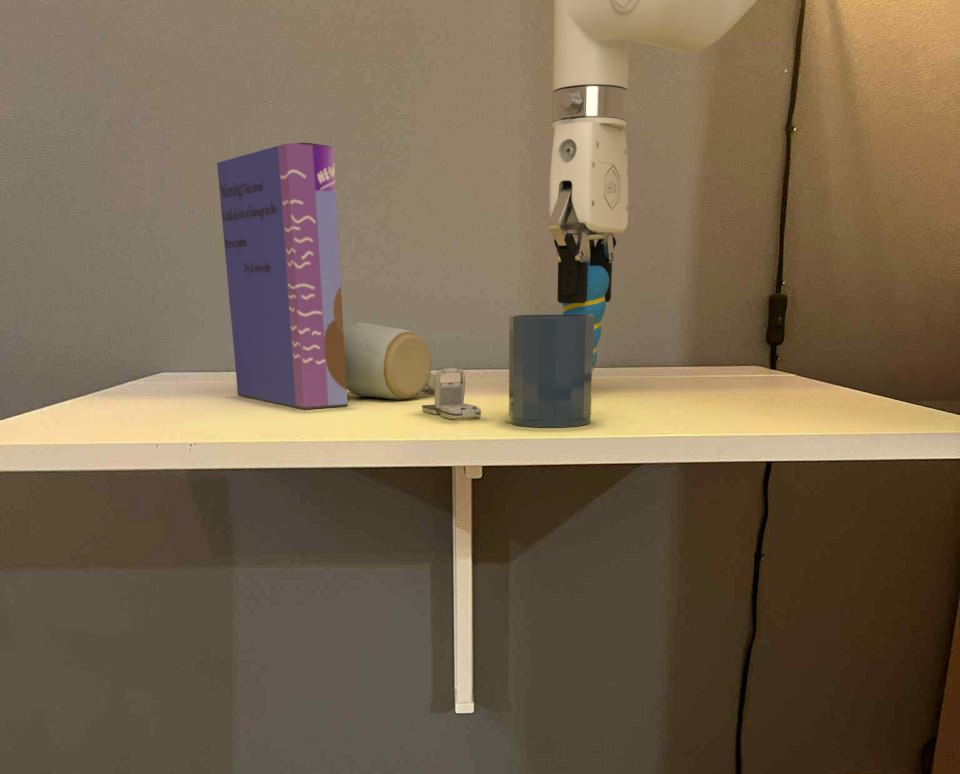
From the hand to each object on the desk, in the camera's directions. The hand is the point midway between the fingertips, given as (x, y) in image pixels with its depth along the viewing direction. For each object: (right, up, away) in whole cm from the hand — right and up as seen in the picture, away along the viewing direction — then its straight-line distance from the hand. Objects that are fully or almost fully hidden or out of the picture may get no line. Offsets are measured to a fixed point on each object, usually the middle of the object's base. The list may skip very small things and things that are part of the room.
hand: (584, 300), depth 106 cm
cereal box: (-32, -11, 0) cm, 34 cm away
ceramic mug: (-21, -10, +2) cm, 23 cm away
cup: (-5, -17, -18) cm, 26 cm away
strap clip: (-14, -15, -13) cm, 24 cm away
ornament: (0, -9, +3) cm, 10 cm away
